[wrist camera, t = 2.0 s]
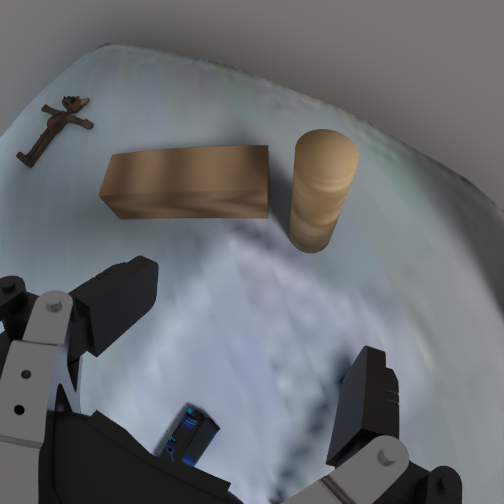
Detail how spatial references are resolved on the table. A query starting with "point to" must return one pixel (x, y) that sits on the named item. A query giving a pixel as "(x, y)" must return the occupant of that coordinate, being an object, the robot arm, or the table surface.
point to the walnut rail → (189, 183)
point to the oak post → (320, 186)
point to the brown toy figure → (56, 127)
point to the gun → (189, 439)
